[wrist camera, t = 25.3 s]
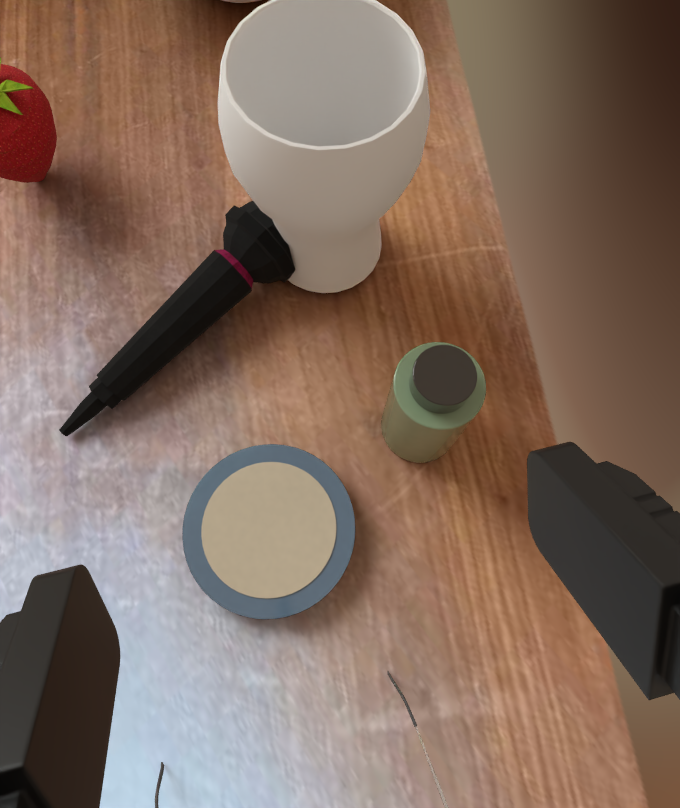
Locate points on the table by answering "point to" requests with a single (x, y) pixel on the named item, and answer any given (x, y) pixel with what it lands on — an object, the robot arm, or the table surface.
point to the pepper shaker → (431, 401)
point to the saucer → (268, 531)
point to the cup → (324, 127)
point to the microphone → (192, 308)
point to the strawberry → (24, 128)
